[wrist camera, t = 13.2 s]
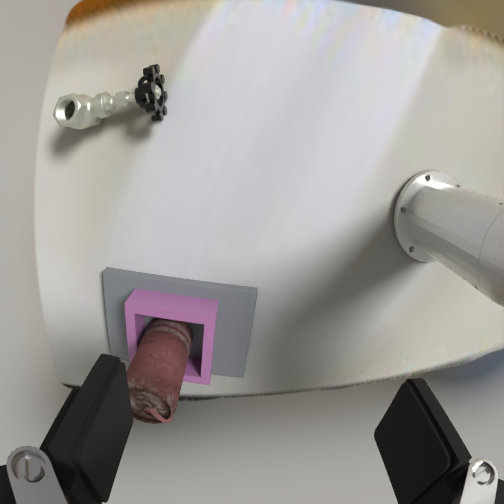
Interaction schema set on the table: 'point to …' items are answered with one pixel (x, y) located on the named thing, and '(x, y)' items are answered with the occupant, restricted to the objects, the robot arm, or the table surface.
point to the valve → (112, 102)
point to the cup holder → (182, 318)
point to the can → (159, 370)
